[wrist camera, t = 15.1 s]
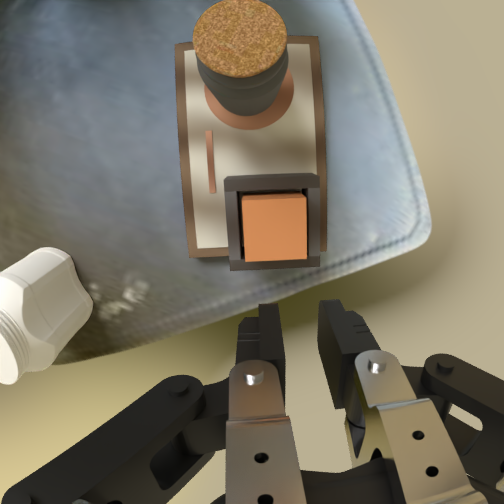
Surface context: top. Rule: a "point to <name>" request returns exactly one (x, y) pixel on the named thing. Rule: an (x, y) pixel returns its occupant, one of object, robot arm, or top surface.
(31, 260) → the jar
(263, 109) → the bottle
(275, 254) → the button
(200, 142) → the tray
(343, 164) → the top surface
